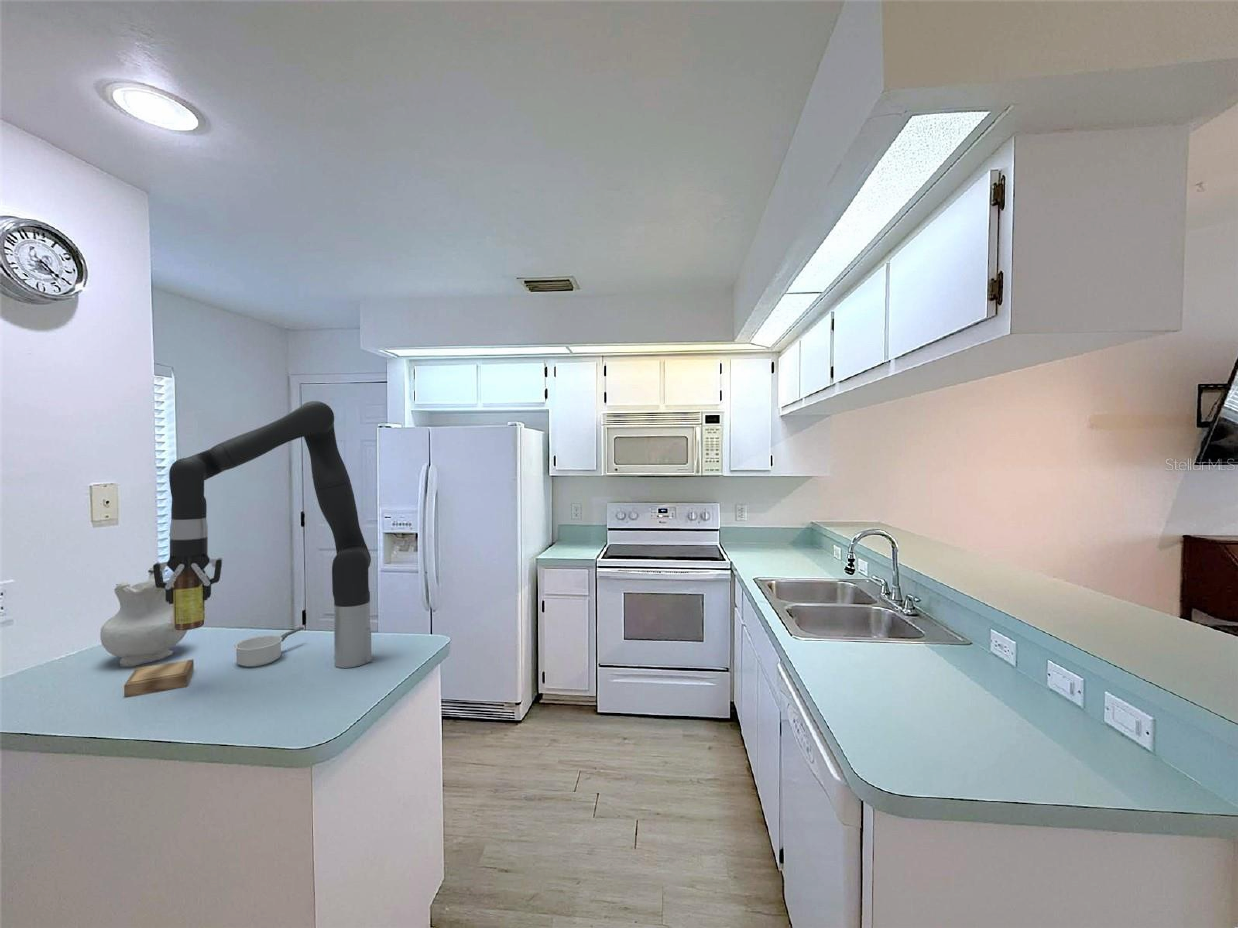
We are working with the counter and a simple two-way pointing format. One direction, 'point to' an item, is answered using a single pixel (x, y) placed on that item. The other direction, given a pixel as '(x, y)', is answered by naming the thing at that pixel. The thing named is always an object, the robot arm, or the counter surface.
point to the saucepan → (260, 649)
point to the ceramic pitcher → (141, 624)
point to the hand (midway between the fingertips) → (188, 601)
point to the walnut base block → (159, 678)
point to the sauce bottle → (188, 598)
